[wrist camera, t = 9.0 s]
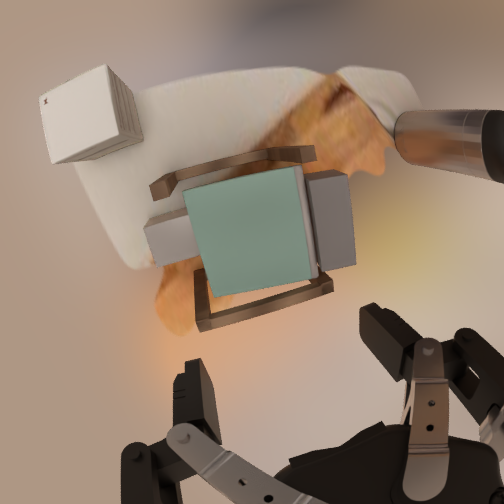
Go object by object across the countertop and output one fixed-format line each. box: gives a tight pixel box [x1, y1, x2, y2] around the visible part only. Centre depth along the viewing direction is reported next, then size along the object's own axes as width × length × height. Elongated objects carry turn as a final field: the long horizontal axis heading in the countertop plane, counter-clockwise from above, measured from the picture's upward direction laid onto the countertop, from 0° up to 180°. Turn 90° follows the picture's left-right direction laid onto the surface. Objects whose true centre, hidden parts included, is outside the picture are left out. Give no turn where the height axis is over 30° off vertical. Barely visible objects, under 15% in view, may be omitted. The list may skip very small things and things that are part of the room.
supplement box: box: [39, 64, 144, 165], centre depth 23 cm, size 7×7×13 cm
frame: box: [149, 145, 334, 332], centre depth 31 cm, size 14×15×12 cm
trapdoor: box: [182, 165, 356, 297], centre depth 28 cm, size 15×12×4 cm
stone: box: [143, 208, 200, 267], centre depth 33 cm, size 5×5×6 cm
